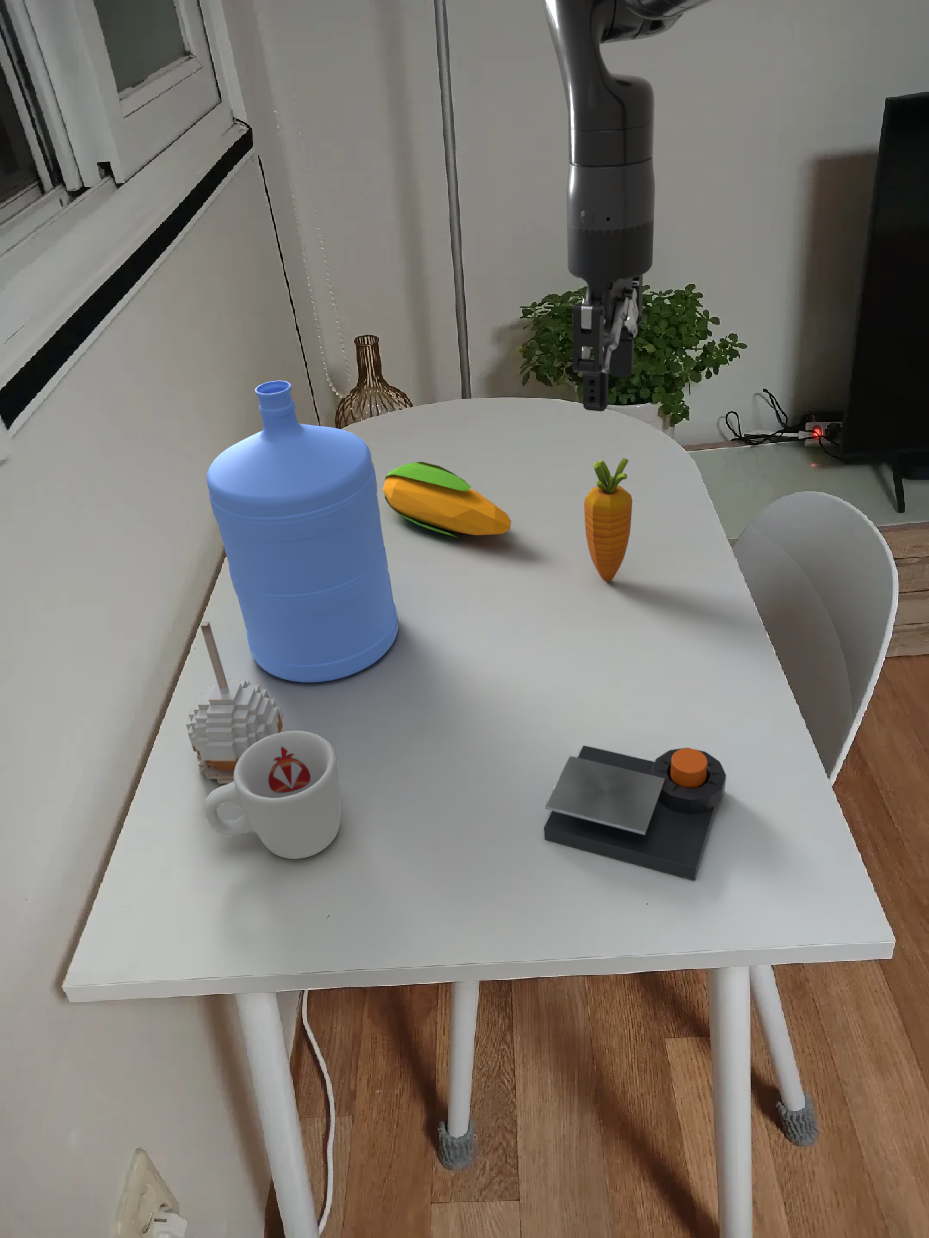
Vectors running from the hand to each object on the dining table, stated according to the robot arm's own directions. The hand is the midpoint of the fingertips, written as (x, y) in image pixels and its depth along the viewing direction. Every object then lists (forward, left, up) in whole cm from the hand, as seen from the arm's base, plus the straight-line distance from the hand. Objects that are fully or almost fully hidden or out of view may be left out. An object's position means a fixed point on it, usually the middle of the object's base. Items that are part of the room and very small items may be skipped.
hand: (609, 392), depth 92 cm
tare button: (-16, +29, -20) cm, 38 cm away
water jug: (+25, +19, -22) cm, 39 cm away
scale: (-12, +32, -22) cm, 41 cm away
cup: (+14, +44, -22) cm, 51 cm away
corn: (+22, -6, -22) cm, 32 cm away
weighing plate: (-10, +33, -19) cm, 40 cm away
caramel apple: (+23, +37, -22) cm, 49 cm away
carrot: (0, 0, -22) cm, 22 cm away
